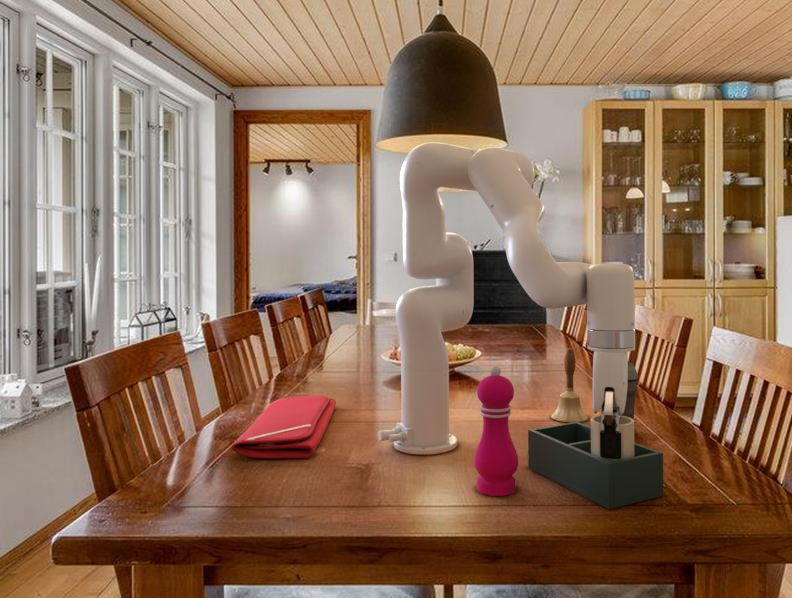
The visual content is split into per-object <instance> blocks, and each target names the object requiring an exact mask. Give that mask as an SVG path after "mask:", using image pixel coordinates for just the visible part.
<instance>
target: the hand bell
mask: <svg viewBox="0 0 792 598" xmlns="http://www.w3.org/2000/svg"><path fill="white" fill-rule="evenodd" d="M564 355H565V356H564V359H563V366H564V371H565V376H566V379H565V381H566V382H565V384H566V385H565V391H563V392H561V393H560V395H559V399H558V405H557V407H556V409H555V411H554V412H553V413H552V414H551V416H550V417H551V419H553V420H554V421H556V422H561V423H572V422H580V423H584V422H586V421H588V419H589V417H588V415H587V414H586V413H585V412H584V409H583V408H582V405H581V399H580V398H581V397H580V395H579V394H578V393H577V392H575V391H574V375H575V372H576V363H577V362H576V361H577V360H576V356H575V353H574V349H573V348H567V349H566V352H565V354H564Z"/></svg>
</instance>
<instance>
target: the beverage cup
mask: <svg viewBox="0 0 792 598" xmlns="http://www.w3.org/2000/svg"><path fill="white" fill-rule="evenodd" d="M638 381H639V375H638V371H637V369H636V367H635V366H634V364H633V363H632V362H631V361H629V360H628V383H627V398H626V405H625V410H624V413H623V414H622V416H626V417H629V418H632V419H633V420H634V421H635V408H636V395H637V393H636V392H637V388H638Z"/></svg>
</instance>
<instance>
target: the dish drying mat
mask: <svg viewBox="0 0 792 598" xmlns="http://www.w3.org/2000/svg"><path fill="white" fill-rule="evenodd" d="M336 404H337V401H336V399H334V398H331V397H329V396H326V395H295V396H288V397H287V396H286V397H282V398H279V399H276V400H274V401H272V402H271V403H270V404H269V405H268V406H267V407H266V408H265V409H264V410H263V411H262V412H261V414H259V416H258V417H257V418H256V419H255V420H254V421H253V423H252V424H251V425H250V426H249V427H248V428H247V429H246V430H245V432H243V434H241V436H240V437H238V438H237V440H236V441H235V442H234V443H233V444H232V445H231V449H232V451H233V452H235V453H236V454H238V455H240V456H243V457H246V458H247V457H248V458H254V459H308V458H311V457H312V456H313V455H314V453H315V452H316V449H317V448H318V446H319V444H320V443H321V440H322V438H323V436H324V434H325V433H326V429H327V427H328V426H329V423H330V421H331V419H332V416H333V415H334V412H335V408H336Z"/></svg>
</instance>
